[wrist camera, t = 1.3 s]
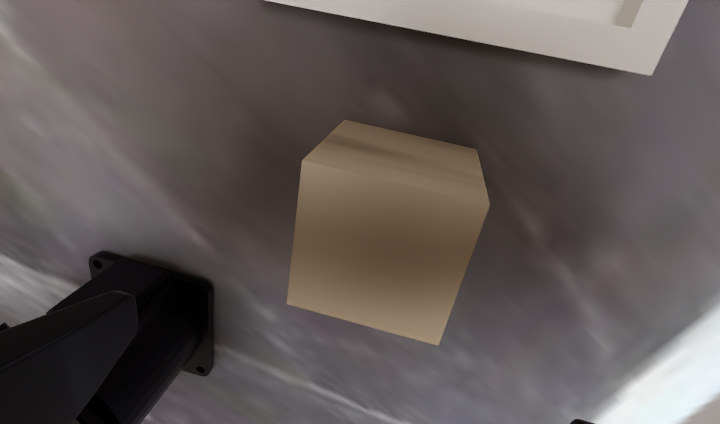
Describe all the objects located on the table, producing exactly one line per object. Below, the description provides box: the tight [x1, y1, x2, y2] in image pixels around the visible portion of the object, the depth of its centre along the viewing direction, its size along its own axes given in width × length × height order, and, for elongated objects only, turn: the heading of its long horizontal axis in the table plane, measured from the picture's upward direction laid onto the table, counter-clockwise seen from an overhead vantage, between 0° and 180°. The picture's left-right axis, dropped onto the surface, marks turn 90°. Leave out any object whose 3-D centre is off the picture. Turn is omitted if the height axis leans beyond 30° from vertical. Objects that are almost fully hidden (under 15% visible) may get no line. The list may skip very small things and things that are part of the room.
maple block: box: [287, 120, 490, 346], centre depth 13 cm, size 5×5×5 cm
